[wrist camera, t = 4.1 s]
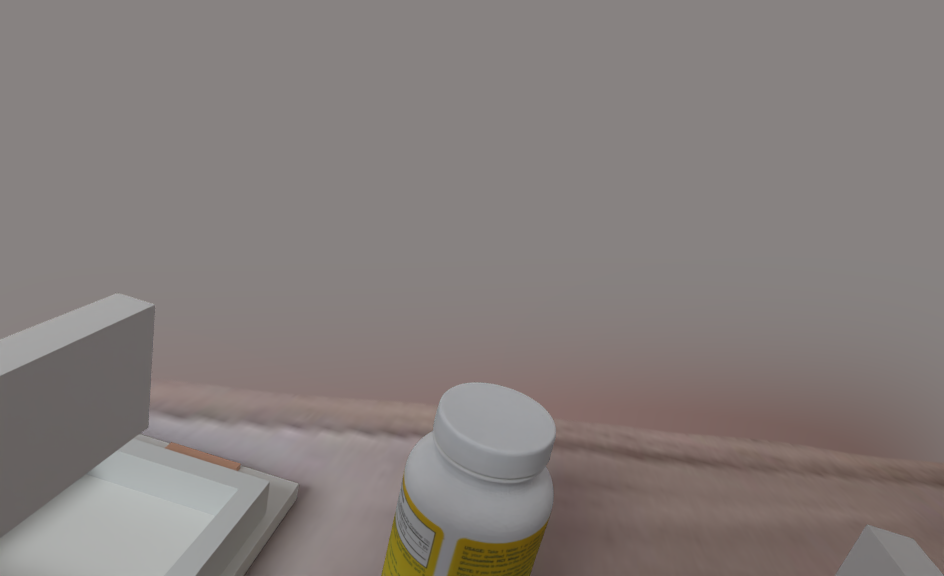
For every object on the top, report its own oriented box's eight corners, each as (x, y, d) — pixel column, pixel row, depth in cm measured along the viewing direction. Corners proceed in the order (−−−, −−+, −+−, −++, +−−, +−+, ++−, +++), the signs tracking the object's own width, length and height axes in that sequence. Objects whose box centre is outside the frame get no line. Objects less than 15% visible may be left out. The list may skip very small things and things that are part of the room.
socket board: (296, 498, 29) (303, 453, 28) (128, 743, 18) (129, 682, 17) (-34, 394, 31) (-39, 347, 30) (-382, 559, 19) (-410, 493, 18)
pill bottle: (521, 594, 27) (588, 406, 23) (482, 717, 21) (562, 494, 17) (409, 540, 28) (455, 356, 24) (345, 641, 23) (391, 421, 19)
